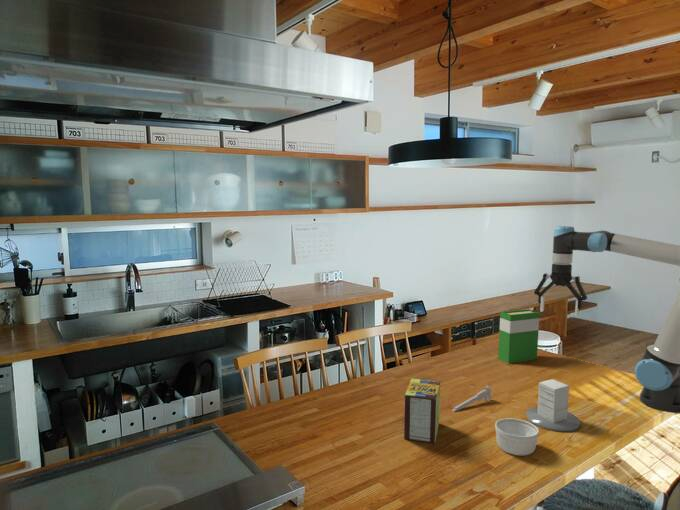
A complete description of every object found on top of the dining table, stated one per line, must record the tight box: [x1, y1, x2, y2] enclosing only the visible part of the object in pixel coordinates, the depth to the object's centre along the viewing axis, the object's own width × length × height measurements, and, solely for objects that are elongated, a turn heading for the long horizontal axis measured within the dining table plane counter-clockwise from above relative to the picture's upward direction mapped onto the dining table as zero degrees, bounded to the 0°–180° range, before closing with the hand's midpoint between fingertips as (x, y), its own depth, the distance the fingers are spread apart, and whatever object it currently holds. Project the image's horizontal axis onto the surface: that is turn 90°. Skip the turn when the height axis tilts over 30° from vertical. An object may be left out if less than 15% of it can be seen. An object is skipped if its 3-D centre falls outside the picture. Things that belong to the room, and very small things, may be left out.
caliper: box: [451, 385, 492, 413], centre depth 188 cm, size 20×1×6 cm, turn 123°
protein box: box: [403, 378, 441, 444], centre depth 166 cm, size 10×15×16 cm
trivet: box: [525, 406, 581, 433], centre depth 176 cm, size 18×18×1 cm
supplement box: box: [537, 378, 570, 423], centre depth 175 cm, size 7×7×13 cm
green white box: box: [497, 308, 540, 364], centre depth 241 cm, size 18×7×24 cm, turn 111°
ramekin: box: [494, 417, 540, 457], centre depth 156 cm, size 13×13×7 cm
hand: (558, 313), depth 204 cm, fingers open, 13 cm apart
